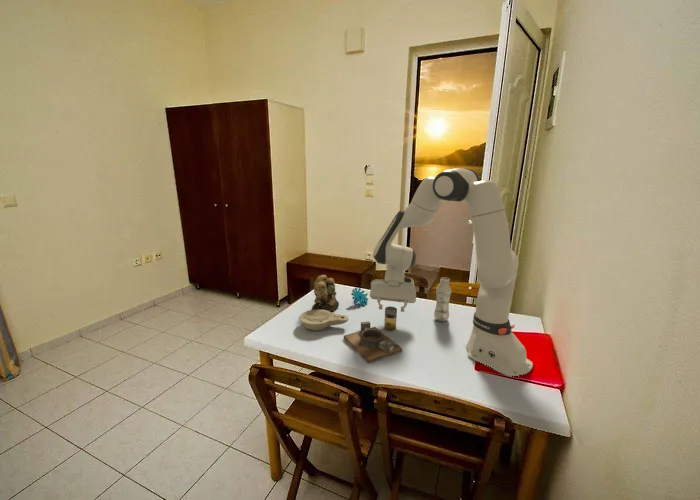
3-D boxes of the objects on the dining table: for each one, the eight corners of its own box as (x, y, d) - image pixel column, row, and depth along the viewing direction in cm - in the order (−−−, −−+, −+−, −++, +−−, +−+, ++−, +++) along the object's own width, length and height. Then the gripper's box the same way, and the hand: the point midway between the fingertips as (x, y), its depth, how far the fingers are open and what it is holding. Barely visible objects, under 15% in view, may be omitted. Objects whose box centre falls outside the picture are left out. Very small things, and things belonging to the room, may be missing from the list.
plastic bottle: (451, 321, 137) (456, 280, 132) (439, 324, 135) (443, 281, 130) (442, 315, 143) (446, 275, 138) (430, 317, 140) (434, 277, 135)
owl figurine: (329, 318, 139) (328, 283, 135) (305, 314, 143) (304, 279, 139) (343, 302, 156) (343, 270, 151) (322, 299, 159) (321, 268, 155)
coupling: (398, 329, 130) (399, 310, 128) (388, 332, 128) (389, 312, 125) (391, 324, 134) (392, 305, 132) (381, 326, 132) (382, 308, 129)
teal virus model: (358, 306, 148) (349, 288, 151) (351, 311, 151) (343, 293, 155) (373, 302, 155) (364, 285, 159) (366, 307, 159) (358, 290, 163)
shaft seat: (402, 352, 114) (403, 339, 113) (369, 363, 107) (369, 351, 106) (374, 329, 130) (374, 318, 129) (343, 338, 123) (343, 326, 121)
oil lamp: (348, 318, 139) (349, 308, 138) (348, 335, 125) (348, 324, 124) (302, 318, 139) (302, 307, 138) (297, 334, 125) (296, 323, 124)
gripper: (371, 275, 138) (366, 304, 131) (417, 280, 133) (415, 310, 127) (372, 281, 143) (368, 309, 136) (416, 285, 139) (414, 315, 132)
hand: (391, 310), depth 132 cm, fingers open, 8 cm apart
